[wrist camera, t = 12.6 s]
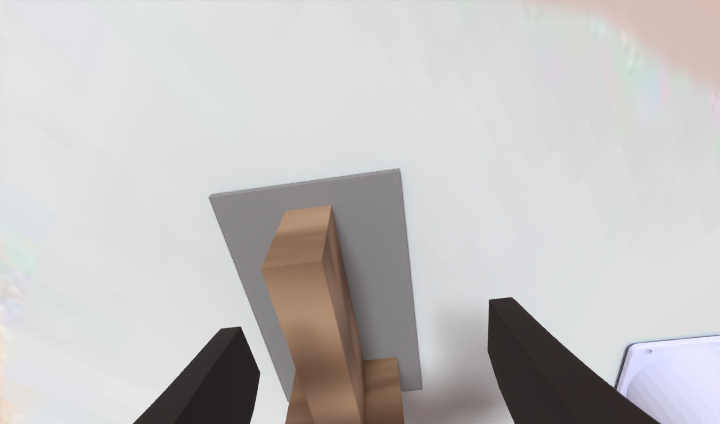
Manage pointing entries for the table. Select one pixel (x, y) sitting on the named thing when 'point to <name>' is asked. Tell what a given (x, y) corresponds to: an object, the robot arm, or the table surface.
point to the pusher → (325, 328)
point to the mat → (359, 252)
